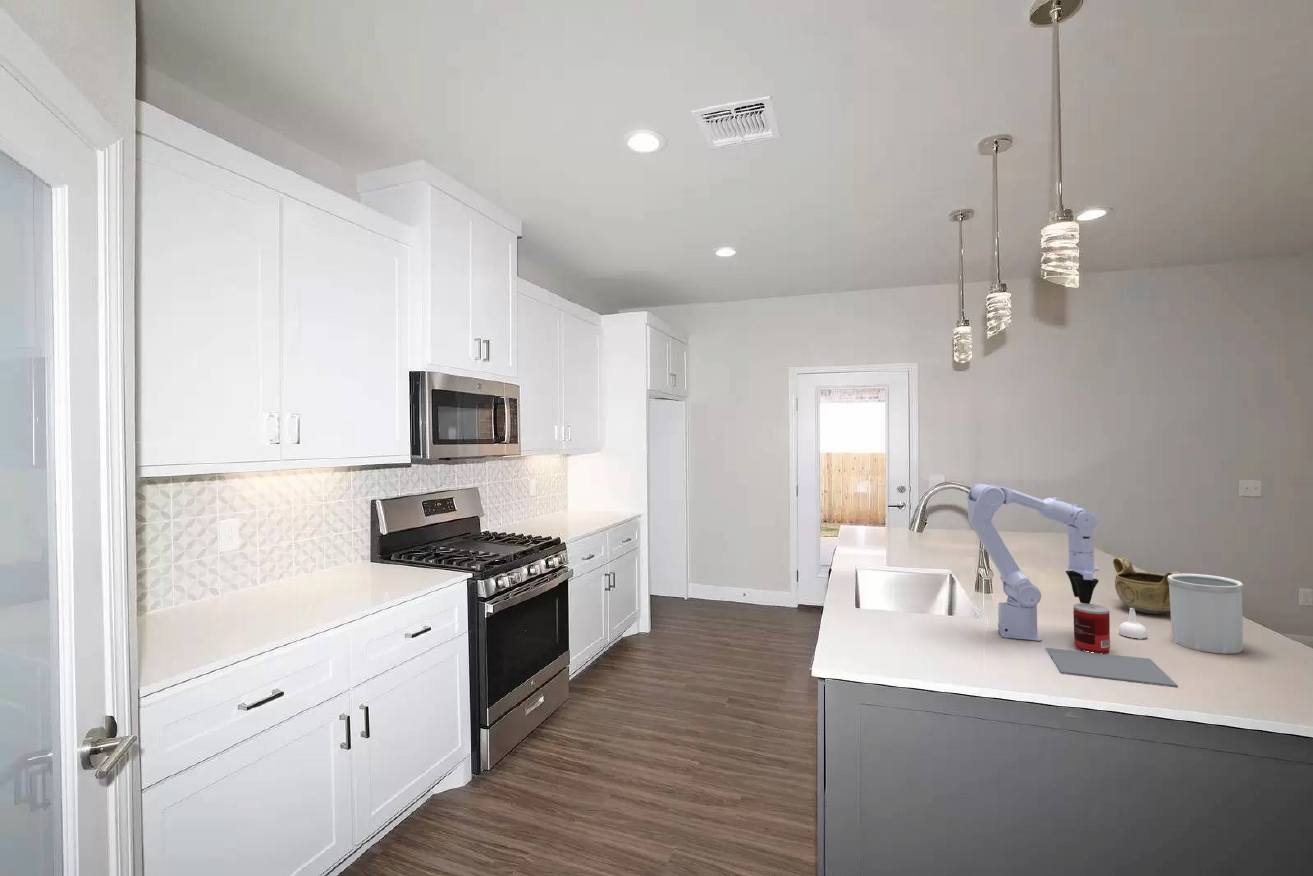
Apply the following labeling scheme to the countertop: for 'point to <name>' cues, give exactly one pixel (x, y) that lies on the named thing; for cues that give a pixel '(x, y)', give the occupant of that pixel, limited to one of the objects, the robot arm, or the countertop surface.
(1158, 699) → the countertop surface
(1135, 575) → the ceramic bowl
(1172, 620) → the utensil holder
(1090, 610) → the canned food
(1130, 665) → the slate mat
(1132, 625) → the garlic bulb
